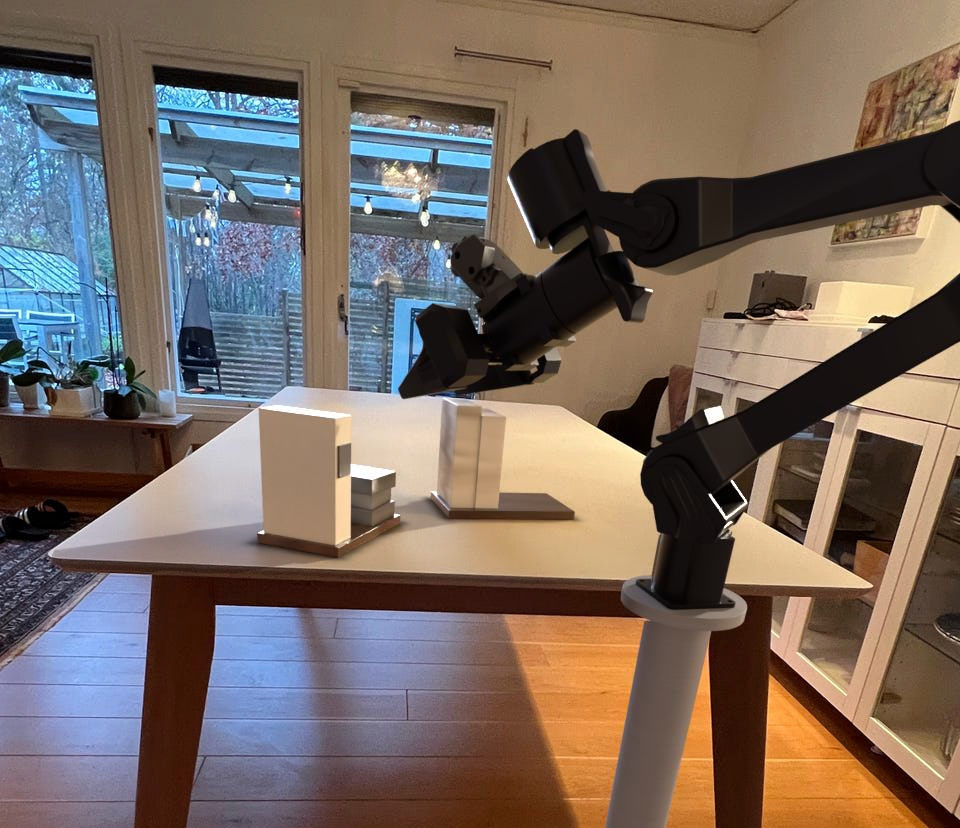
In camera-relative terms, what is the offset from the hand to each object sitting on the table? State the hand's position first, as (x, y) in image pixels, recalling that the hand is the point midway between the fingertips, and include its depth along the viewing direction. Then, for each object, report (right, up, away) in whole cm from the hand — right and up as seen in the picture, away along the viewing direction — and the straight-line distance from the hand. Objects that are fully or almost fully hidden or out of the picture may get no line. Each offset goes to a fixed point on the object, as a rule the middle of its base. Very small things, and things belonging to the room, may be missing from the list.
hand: (429, 392), depth 69 cm
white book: (-12, -14, +3) cm, 19 cm away
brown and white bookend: (+8, -7, +24) cm, 26 cm away
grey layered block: (-11, -12, +8) cm, 18 cm away
